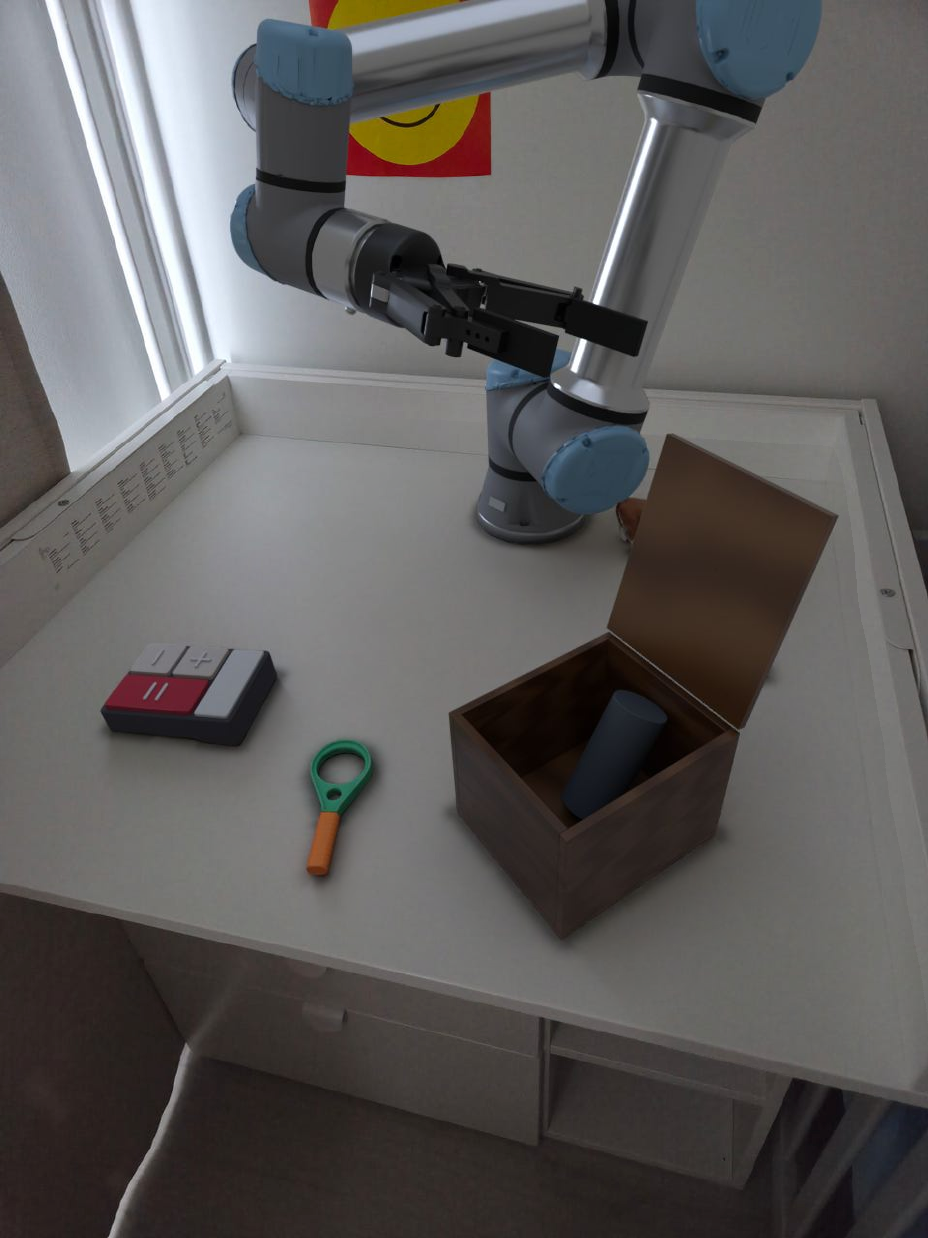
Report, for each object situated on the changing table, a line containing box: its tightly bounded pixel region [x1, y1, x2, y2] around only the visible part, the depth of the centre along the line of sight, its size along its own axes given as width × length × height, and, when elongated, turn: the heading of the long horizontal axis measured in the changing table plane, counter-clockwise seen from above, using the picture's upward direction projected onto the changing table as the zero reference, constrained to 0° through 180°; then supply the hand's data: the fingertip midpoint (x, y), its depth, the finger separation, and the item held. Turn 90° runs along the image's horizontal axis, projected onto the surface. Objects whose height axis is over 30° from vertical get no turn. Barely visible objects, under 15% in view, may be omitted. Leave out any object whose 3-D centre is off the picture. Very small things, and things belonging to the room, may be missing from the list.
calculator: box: [99, 642, 278, 746], centre depth 88 cm, size 11×4×15 cm
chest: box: [448, 631, 741, 940], centre depth 70 cm, size 18×16×13 cm
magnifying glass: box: [305, 738, 374, 876], centre depth 76 cm, size 15×6×2 cm, turn 176°
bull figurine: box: [615, 496, 646, 548], centre depth 104 cm, size 4×13×8 cm, turn 58°
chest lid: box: [606, 432, 840, 731], centre depth 64 cm, size 18×16×1 cm
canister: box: [561, 690, 667, 820], centre depth 71 cm, size 5×5×11 cm
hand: (600, 347), depth 58 cm, fingers open, 13 cm apart
